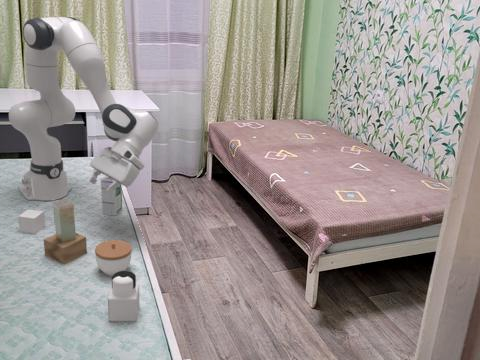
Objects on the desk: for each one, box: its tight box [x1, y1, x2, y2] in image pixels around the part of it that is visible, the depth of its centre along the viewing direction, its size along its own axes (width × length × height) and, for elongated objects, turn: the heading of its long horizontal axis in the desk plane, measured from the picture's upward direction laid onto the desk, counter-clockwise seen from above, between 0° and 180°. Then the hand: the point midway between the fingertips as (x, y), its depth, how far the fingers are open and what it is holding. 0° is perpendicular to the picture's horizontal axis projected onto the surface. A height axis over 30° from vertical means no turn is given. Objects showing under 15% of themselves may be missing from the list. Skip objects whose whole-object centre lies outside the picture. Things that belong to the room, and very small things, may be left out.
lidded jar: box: [94, 239, 133, 277], centre depth 149 cm, size 11×11×9 cm
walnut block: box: [43, 232, 88, 265], centre depth 156 cm, size 9×9×6 cm
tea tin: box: [52, 198, 77, 243], centre depth 153 cm, size 5×5×12 cm
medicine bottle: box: [107, 270, 140, 322], centre depth 129 cm, size 7×7×12 cm
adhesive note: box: [17, 208, 46, 235], centre depth 171 cm, size 6×6×6 cm
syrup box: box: [100, 175, 123, 216], centre depth 186 cm, size 6×6×14 cm
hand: (99, 187), depth 161 cm, fingers open, 8 cm apart
